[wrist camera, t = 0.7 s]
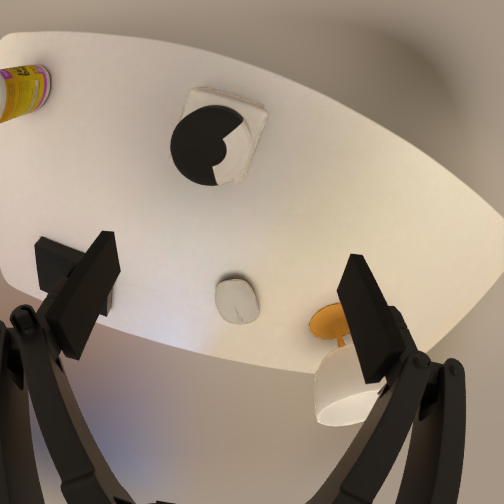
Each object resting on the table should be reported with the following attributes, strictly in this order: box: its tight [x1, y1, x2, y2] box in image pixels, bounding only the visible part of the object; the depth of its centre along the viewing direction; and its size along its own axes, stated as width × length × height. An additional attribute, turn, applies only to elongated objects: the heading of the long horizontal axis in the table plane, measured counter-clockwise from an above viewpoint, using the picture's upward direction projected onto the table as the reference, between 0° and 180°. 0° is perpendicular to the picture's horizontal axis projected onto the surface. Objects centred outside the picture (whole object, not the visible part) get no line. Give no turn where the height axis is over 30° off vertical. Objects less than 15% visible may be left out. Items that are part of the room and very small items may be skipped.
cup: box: [309, 303, 387, 426], centre depth 40 cm, size 12×12×17 cm
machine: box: [34, 237, 113, 317], centre depth 39 cm, size 14×10×4 cm
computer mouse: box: [215, 279, 259, 324], centre depth 42 cm, size 6×10×3 cm, turn 9°
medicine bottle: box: [170, 87, 268, 186], centre depth 24 cm, size 7×7×12 cm
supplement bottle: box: [0, 65, 50, 123], centre depth 18 cm, size 7×7×13 cm
